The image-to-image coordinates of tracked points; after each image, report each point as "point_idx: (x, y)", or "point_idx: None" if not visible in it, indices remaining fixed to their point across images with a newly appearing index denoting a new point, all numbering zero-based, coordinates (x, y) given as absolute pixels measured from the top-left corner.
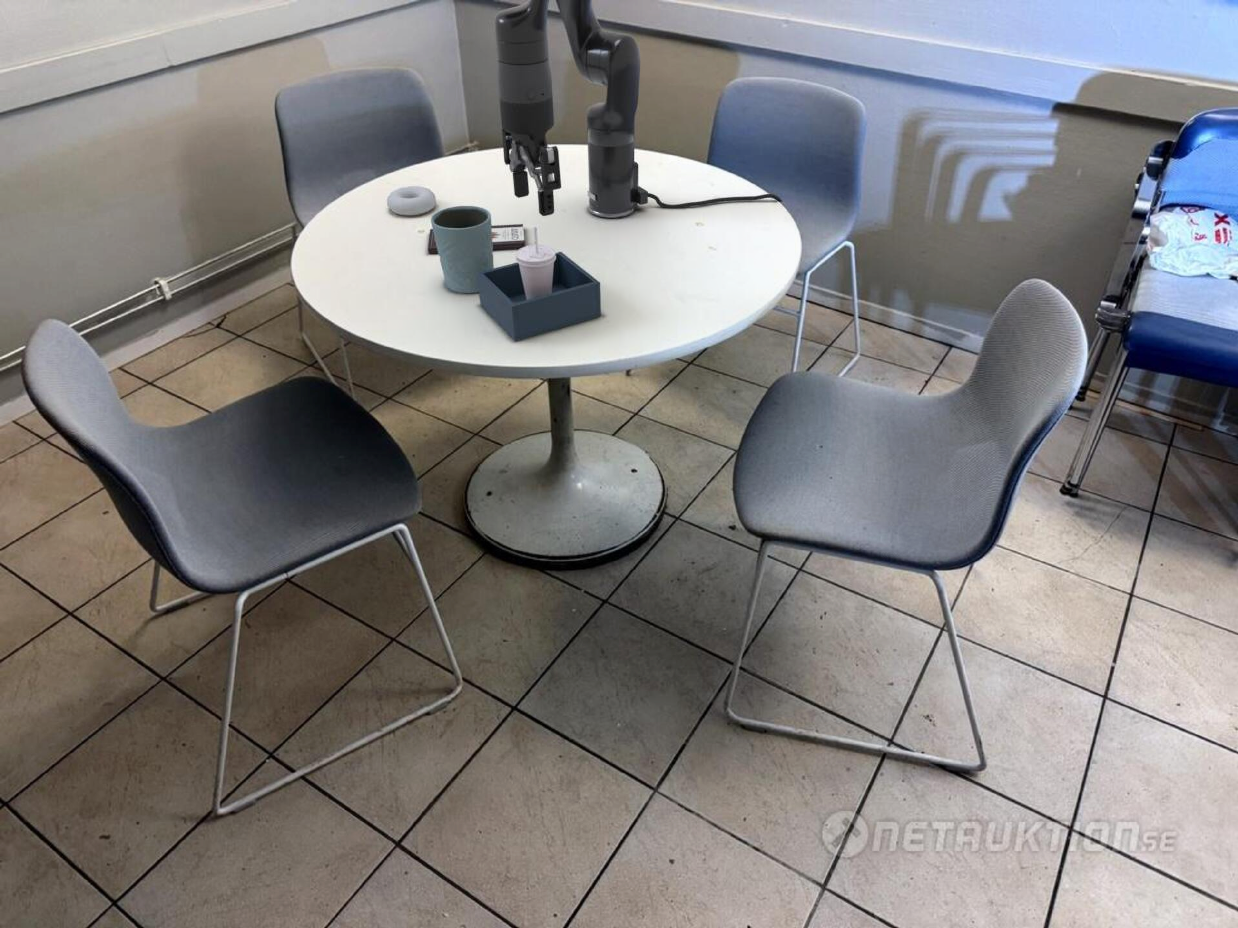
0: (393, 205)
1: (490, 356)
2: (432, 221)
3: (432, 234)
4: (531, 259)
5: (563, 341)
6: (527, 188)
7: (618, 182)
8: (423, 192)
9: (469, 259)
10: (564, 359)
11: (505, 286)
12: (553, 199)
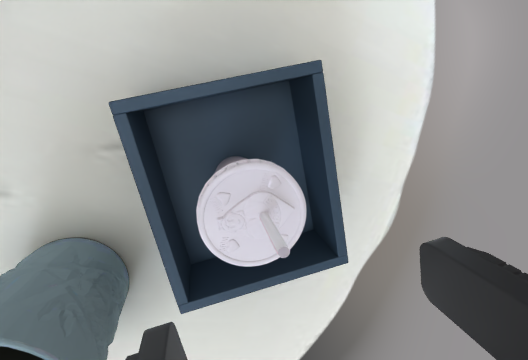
0: None
1: (344, 269)
2: None
3: None
4: (286, 233)
5: (347, 160)
6: (169, 354)
7: None
8: None
9: (112, 329)
10: (394, 171)
11: (177, 238)
12: (507, 270)
